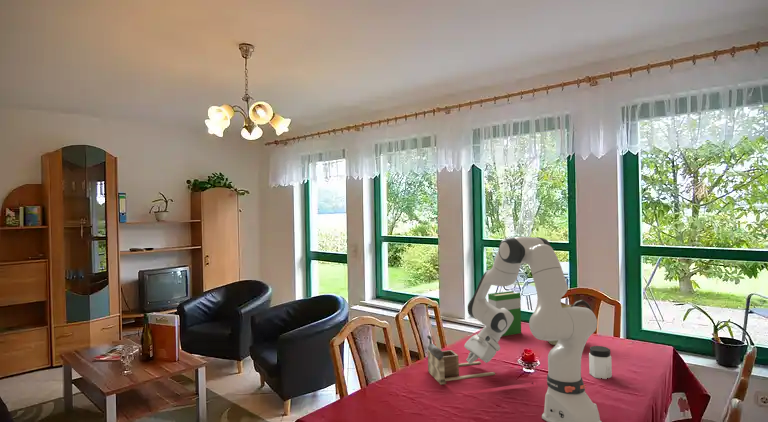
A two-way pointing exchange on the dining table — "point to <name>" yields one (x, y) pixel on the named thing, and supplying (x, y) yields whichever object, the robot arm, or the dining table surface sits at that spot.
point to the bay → (438, 365)
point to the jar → (600, 362)
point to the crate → (450, 363)
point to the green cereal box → (508, 308)
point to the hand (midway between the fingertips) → (468, 362)
